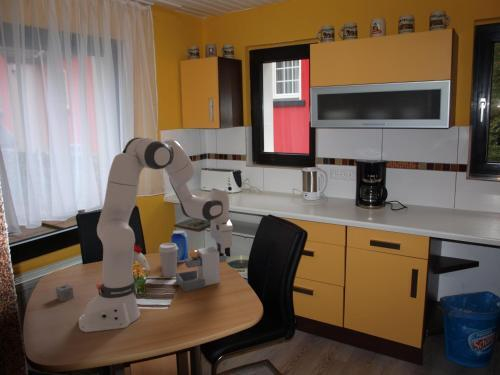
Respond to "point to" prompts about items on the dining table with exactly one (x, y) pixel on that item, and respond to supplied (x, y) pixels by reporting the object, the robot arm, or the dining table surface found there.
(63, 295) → the grey cube with hole
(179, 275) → the tray
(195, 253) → the copper ball
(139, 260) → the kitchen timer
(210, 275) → the block
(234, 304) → the dining table surface
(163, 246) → the coffee cup
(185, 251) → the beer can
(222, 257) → the shaft
